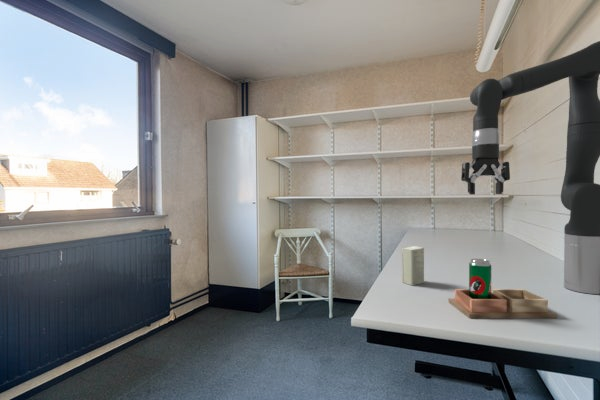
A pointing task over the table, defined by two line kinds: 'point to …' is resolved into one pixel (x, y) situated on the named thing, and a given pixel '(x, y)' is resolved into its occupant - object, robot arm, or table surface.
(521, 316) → the can rack
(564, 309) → the table surface
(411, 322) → the table surface
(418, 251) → the skincare box
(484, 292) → the soda can
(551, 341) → the table surface
